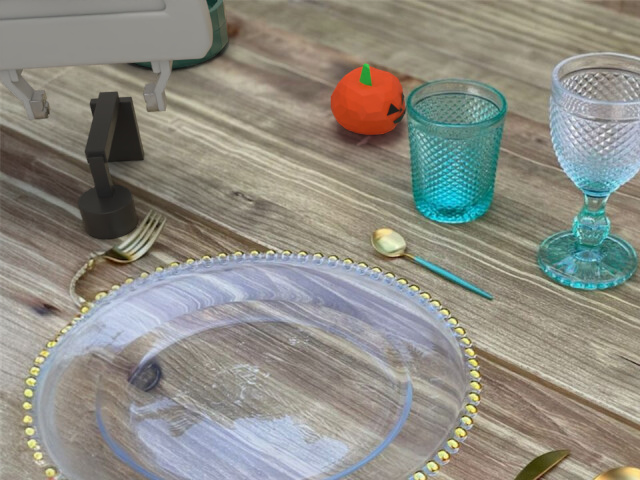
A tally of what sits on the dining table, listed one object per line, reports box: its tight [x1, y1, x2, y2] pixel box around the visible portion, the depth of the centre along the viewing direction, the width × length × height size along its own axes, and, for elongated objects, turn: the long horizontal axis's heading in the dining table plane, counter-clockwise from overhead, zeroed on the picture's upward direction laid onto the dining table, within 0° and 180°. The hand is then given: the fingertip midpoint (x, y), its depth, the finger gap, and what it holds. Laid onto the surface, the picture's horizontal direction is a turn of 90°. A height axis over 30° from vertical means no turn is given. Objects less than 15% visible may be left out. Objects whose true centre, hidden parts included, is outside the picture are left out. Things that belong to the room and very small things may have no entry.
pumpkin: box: [330, 62, 407, 136], centre depth 88 cm, size 7×8×6 cm
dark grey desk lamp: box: [77, 90, 145, 240], centre depth 80 cm, size 13×4×7 cm, turn 6°
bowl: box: [134, 0, 230, 69], centre depth 101 cm, size 12×12×5 cm
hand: (99, 112), depth 76 cm, fingers open, 8 cm apart
